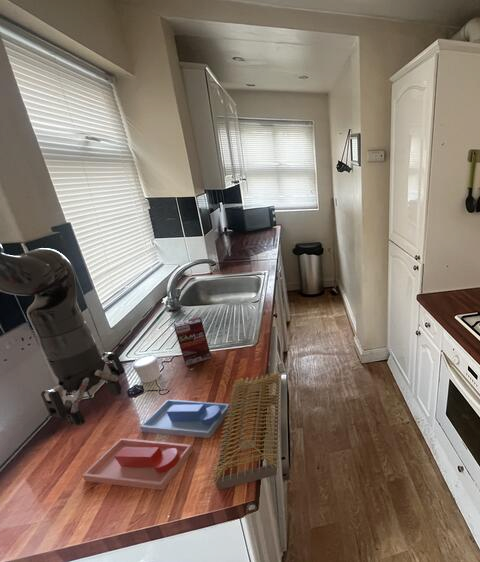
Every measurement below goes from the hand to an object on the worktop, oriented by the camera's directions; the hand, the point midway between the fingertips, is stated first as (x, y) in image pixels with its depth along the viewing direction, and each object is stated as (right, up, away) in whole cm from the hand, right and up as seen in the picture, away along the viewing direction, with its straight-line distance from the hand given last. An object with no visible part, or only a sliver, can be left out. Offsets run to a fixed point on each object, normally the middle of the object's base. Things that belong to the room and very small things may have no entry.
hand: (99, 408), depth 68 cm
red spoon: (+8, -15, +5) cm, 18 cm away
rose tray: (+5, -16, +6) cm, 18 cm away
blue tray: (+8, -11, +19) cm, 24 cm away
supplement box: (-4, -1, +46) cm, 46 cm away
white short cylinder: (-15, -5, +37) cm, 40 cm away
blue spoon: (+11, -10, +18) cm, 24 cm away
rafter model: (+28, -12, +16) cm, 35 cm away
